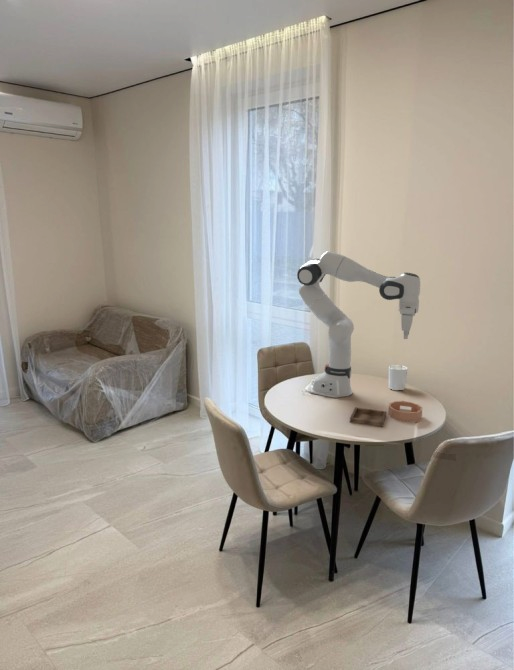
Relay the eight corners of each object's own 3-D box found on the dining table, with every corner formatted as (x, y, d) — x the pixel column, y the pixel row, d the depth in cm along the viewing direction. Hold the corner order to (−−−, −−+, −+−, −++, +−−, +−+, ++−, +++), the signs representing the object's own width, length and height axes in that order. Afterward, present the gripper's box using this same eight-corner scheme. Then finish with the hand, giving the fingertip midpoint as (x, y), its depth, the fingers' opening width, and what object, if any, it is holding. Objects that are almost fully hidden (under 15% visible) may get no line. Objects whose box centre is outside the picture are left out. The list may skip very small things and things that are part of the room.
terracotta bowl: (386, 420, 219) (387, 410, 218) (389, 409, 233) (390, 399, 232) (420, 425, 215) (421, 414, 213) (422, 413, 228) (422, 403, 227)
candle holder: (408, 387, 264) (410, 366, 261) (402, 392, 256) (404, 370, 253) (390, 384, 269) (391, 363, 267) (384, 389, 261) (386, 367, 259)
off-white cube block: (399, 415, 222) (399, 408, 222) (399, 412, 226) (400, 405, 225) (410, 417, 221) (411, 410, 220) (410, 414, 225) (411, 407, 224)
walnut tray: (349, 424, 215) (350, 418, 214) (354, 413, 227) (355, 407, 227) (382, 429, 210) (382, 422, 209) (385, 417, 223) (386, 411, 222)
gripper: (403, 304, 239) (401, 331, 242) (399, 310, 221) (397, 340, 224) (416, 305, 237) (414, 332, 240) (414, 311, 218) (412, 341, 221)
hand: (406, 336), depth 232 cm, fingers open, 8 cm apart
